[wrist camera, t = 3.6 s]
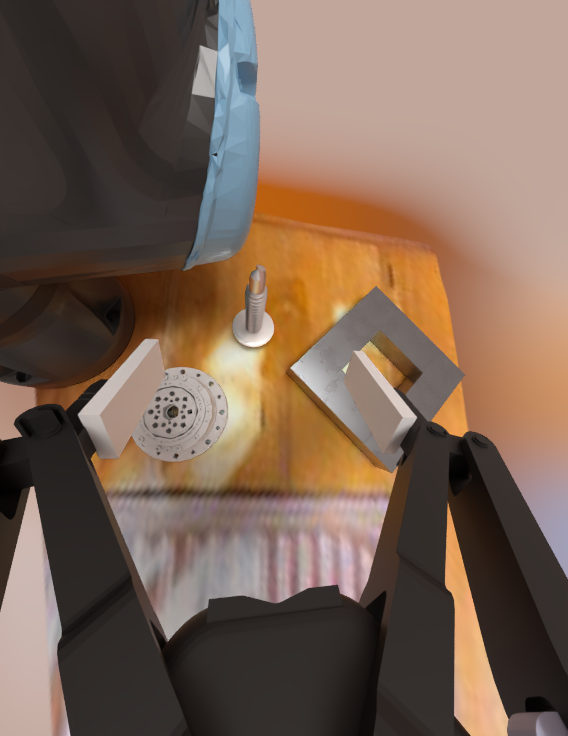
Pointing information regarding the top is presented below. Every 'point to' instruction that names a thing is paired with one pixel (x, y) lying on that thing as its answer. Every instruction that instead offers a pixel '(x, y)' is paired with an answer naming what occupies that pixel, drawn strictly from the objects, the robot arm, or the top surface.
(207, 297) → the top surface
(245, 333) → the screw
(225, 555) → the top surface
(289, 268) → the top surface
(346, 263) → the top surface
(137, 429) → the mechanical component
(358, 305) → the socket plate
